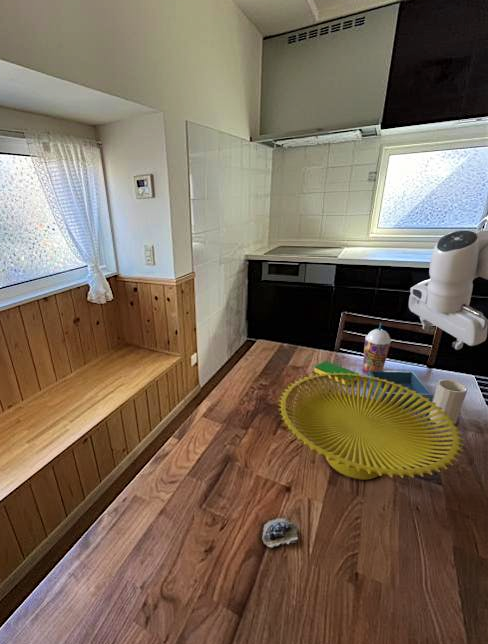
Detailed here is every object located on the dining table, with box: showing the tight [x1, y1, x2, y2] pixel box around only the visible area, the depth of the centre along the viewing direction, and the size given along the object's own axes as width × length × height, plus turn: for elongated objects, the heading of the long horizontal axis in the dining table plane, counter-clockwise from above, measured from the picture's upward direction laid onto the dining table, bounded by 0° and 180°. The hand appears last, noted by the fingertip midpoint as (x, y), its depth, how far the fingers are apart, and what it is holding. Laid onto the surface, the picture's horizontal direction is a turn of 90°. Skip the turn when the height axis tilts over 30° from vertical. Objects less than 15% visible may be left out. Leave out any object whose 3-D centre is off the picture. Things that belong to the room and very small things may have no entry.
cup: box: [428, 378, 468, 427], centre depth 98 cm, size 7×7×12 cm
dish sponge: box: [314, 360, 360, 387], centre depth 126 cm, size 7×14×2 cm, turn 37°
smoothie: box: [362, 322, 392, 374], centre depth 124 cm, size 8×8×20 cm
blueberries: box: [261, 517, 299, 548], centre depth 71 cm, size 7×8×2 cm
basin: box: [366, 370, 434, 409], centre depth 113 cm, size 15×15×5 cm
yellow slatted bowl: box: [277, 372, 465, 481], centre depth 86 cm, size 40×40×15 cm
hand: (441, 338), depth 92 cm, fingers open, 8 cm apart
